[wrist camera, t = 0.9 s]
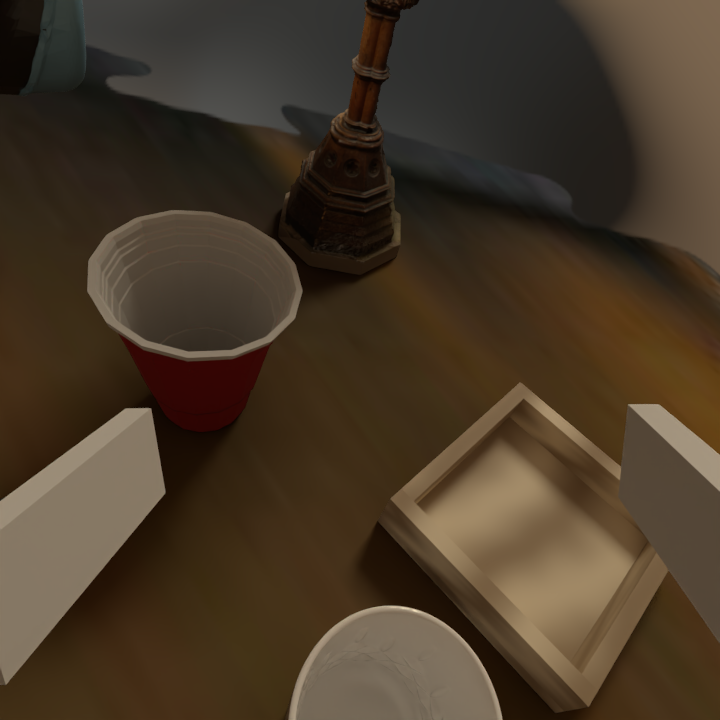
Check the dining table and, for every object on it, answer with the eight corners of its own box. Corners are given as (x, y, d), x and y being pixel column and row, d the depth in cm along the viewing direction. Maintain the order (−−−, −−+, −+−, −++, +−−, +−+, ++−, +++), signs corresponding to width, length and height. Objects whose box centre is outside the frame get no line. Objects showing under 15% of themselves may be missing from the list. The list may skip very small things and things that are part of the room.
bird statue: (470, 267, 51) (741, -307, 24) (376, 326, 44) (611, -393, 17) (352, 177, 56) (465, -373, 29) (253, 216, 49) (280, -457, 22)
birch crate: (377, 520, 34) (390, 498, 31) (501, 408, 41) (520, 382, 38) (555, 713, 29) (588, 706, 26) (658, 546, 36) (692, 527, 34)
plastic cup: (285, 470, 35) (305, 359, 25) (107, 467, 32) (58, 344, 23) (287, 342, 41) (303, 216, 32) (139, 332, 39) (111, 194, 30)
